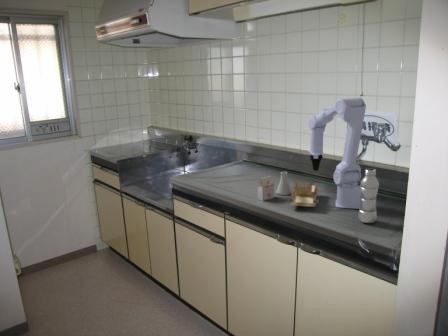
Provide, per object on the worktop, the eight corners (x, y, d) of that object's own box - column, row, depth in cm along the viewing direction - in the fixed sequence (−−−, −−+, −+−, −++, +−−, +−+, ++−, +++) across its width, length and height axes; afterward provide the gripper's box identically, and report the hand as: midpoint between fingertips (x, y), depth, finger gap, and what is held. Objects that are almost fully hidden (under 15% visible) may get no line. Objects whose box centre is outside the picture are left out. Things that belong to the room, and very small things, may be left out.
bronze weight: (311, 191, 164) (312, 182, 163) (311, 196, 159) (311, 187, 157) (297, 191, 166) (297, 182, 165) (296, 195, 160) (296, 186, 159)
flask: (281, 189, 181) (281, 169, 179) (294, 192, 177) (294, 171, 175) (273, 193, 176) (273, 173, 174) (286, 196, 172) (286, 175, 169)
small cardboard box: (317, 188, 172) (317, 182, 171) (315, 206, 152) (315, 200, 151) (294, 187, 175) (294, 181, 174) (289, 205, 154) (289, 198, 153)
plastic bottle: (357, 224, 139) (360, 171, 134) (358, 217, 145) (361, 166, 140) (376, 226, 136) (380, 172, 132) (376, 219, 142) (380, 167, 138)
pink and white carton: (257, 199, 170) (257, 177, 167) (268, 195, 173) (268, 174, 171) (262, 201, 167) (262, 179, 164) (274, 197, 170) (274, 176, 168)
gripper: (308, 139, 183) (307, 166, 186) (307, 144, 169) (306, 174, 172) (323, 139, 181) (322, 166, 184) (323, 145, 167) (322, 174, 170)
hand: (315, 170), depth 178 cm, fingers closed
